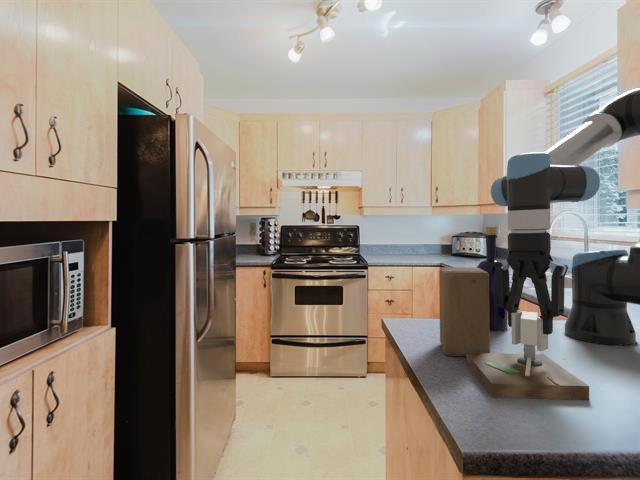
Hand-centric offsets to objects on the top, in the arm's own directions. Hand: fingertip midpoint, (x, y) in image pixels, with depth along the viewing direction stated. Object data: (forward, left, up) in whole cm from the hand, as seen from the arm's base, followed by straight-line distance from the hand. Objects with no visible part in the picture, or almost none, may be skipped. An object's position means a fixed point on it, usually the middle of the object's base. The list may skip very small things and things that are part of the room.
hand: (529, 345), depth 75 cm
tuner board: (+3, +3, -6) cm, 7 cm away
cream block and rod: (+2, +3, -3) cm, 4 cm away
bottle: (-4, -35, -6) cm, 36 cm away
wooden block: (+9, -14, -6) cm, 18 cm away
